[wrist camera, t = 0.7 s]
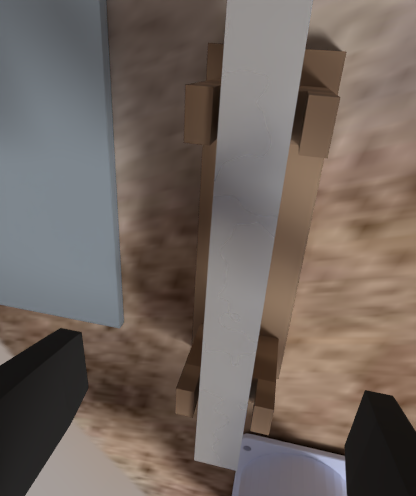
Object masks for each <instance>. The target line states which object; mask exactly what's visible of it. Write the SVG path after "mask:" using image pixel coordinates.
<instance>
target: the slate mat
mask: <svg viewBox="0 0 416 496" xmlns="http://www.w3.org/2000/svg"><path fill="white" fill-rule="evenodd" d="M0 305H5V306H10V307H15V308H20V309H25V310H30V311H35V312H40V313H45V314H50V315H55V316H60V317H65V318H70V319H75V320H80V321H85V322H90V323H95V324H100V325H105V326H110V327H115V328H120V327H121V326H122V324H123V323H124V316H123V298H122V280H121V261H120V243H119V225H118V207H117V189H116V171H115V153H114V134H113V116H112V98H111V80H110V62H109V44H108V25H107V7H106V0H0Z"/></svg>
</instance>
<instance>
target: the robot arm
mask: <svg viewBox="0 0 416 496" xmlns="http://www.w3.org/2000/svg"><path fill="white" fill-rule="evenodd" d="M87 390H88V380H87V372H86V364H85V356H84V348H83V340H82V332H77V331H72V330H67V329H63V328H60V329H58V330H57V331H55V332H53V333H52V334H50V335H48V336H47V337H45V338H44V339H42V340H40V341H39V342H37V343H36V344H34V345H32V346H31V347H29V348H28V349H26V350H24V351H23V352H21V353H20V354H18V355H16V356H15V357H13V358H12V359H10V360H9V361H7V362H5V363H4V364H2V365H0V496H25V495H26V493H27V492H28V490H29V488H30V487H31V485H32V484H33V482H34V481H35V479H36V478H37V476H38V475H39V473H40V471H41V470H42V468H43V467H44V465H45V464H46V462H47V461H48V459H49V457H50V456H51V454H52V453H53V451H54V449H55V448H56V446H57V445H58V443H59V442H60V440H61V439H62V437H63V435H64V434H65V432H66V431H67V429H68V427H69V426H70V424H71V422H72V420H73V418H74V416H75V414H76V412H77V410H78V408H79V406H80V404H81V402H82V400H83V398H84V396H85V394H86V392H87ZM232 496H416V431H415V430H414V428H413V426H412V425H411V423H410V422H409V420H408V419H407V417H406V415H405V414H404V412H403V411H402V409H401V407H400V406H399V404H398V403H397V401H396V400H395V398H394V397H393V396H391V395H386V394H381V393H376V392H371V391H366V390H365V392H364V394H363V397H362V400H361V403H360V405H359V408H358V411H357V414H356V416H355V419H354V422H353V424H352V427H351V430H350V433H349V435H348V438H347V441H346V443H345V456H343V455H339V454H335V453H330V452H326V451H322V450H317V449H313V448H309V447H305V446H300V445H296V444H292V443H287V442H283V441H279V440H275V439H270V438H266V437H262V436H258V435H253V434H248V433H246V434H243V437H242V443H241V449H240V455H239V461H238V467H237V471H236V473H235V479H234V485H233V491H232Z"/></svg>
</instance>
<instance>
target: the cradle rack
mask: <svg viewBox="0 0 416 496" xmlns="http://www.w3.org/2000/svg"><path fill="white" fill-rule="evenodd" d="M223 51H224V44H217V43H208V55H207V74H206V81H203V82H197V83H192V84H187V85H186V86H185V119H184V143H190V144H200V145H203V147H202V166H201V184H200V203H199V221H198V239H197V258H196V276H195V295H194V313H193V331H192V347H191V350H190V353H189V355H188V358H187V361H186V363H185V366H184V369H183V371H182V374H181V377H180V379H179V382H178V385H177V387H176V410H175V414H179V415H184V416H188V417H192V418H193V414H194V411H195V408H196V404H197V401H198V397H199V386H200V372H201V358H202V344H203V330H204V316H205V302H206V288H207V274H208V260H209V246H210V232H211V218H212V205H213V191H214V177H215V163H216V149H217V135H218V121H219V107H220V93H221V79H222V65H223ZM345 57H346V52H344V51H328V50H312V49H305V54H304V60H303V66H302V72H301V78H300V85H299V91H298V97H297V103H296V109H295V115H294V122H293V128H292V134H291V140H290V146H289V152H288V159H287V165H286V171H285V177H284V183H283V190H282V196H281V202H280V208H279V214H278V220H277V227H276V233H275V239H274V245H273V251H272V257H271V264H270V270H269V276H268V282H267V288H266V295H265V301H264V307H263V313H262V319H261V325H260V332H259V338H258V344H257V350H256V356H255V362H254V369H253V375H252V381H251V387H250V393H249V400H248V402H251V403H254V406H253V414H252V422H251V430H250V431H252V432H257V433H261V434H265V435H269V431H270V427H271V422H272V417H273V413H274V403H275V388H276V379H279V374H280V369H281V364H282V359H283V355H284V350H285V345H286V340H287V335H288V331H289V326H290V321H291V316H292V311H293V307H294V302H295V297H296V292H297V287H298V283H299V278H300V273H301V268H302V263H303V258H304V254H305V249H306V244H307V239H308V234H309V230H310V225H311V220H312V215H313V210H314V206H315V201H316V196H317V191H318V186H319V182H320V177H321V172H322V167H323V162H324V158H328V153H329V148H330V144H331V139H332V134H333V130H334V125H335V120H336V115H337V111H338V106H339V101H340V97H339V96H338V90H339V86H340V81H341V76H342V71H343V66H344V61H345Z"/></svg>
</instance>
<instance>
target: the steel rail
mask: <svg viewBox="0 0 416 496" xmlns="http://www.w3.org/2000/svg"><path fill="white" fill-rule="evenodd" d="M312 4H313V0H227V10H226V23H225V37H224V51H223V65H222V79H221V93H220V107H219V121H218V135H217V149H216V163H215V177H214V191H213V205H212V218H211V232H210V246H209V260H208V274H207V288H206V302H205V316H204V330H203V344H202V358H201V372H200V386H199V400H198V413H197V427H196V441H195V455H194V460H195V461H199V462H203V463H207V464H211V465H215V466H219V467H223V468H227V469H231V470H235V471H237V467H238V461H239V455H240V449H241V443H242V437H243V430H244V424H245V418H246V412H247V406H248V400H249V393H250V387H251V381H252V375H253V369H254V362H255V356H256V350H257V344H258V338H259V332H260V325H261V319H262V313H263V307H264V301H265V295H266V288H267V282H268V276H269V270H270V264H271V257H272V251H273V245H274V239H275V233H276V227H277V220H278V214H279V208H280V202H281V196H282V190H283V183H284V177H285V171H286V165H287V159H288V152H289V146H290V140H291V134H292V128H293V122H294V115H295V109H296V103H297V97H298V91H299V85H300V78H301V72H302V66H303V60H304V54H305V47H306V41H307V35H308V29H309V23H310V17H311V10H312Z"/></svg>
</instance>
